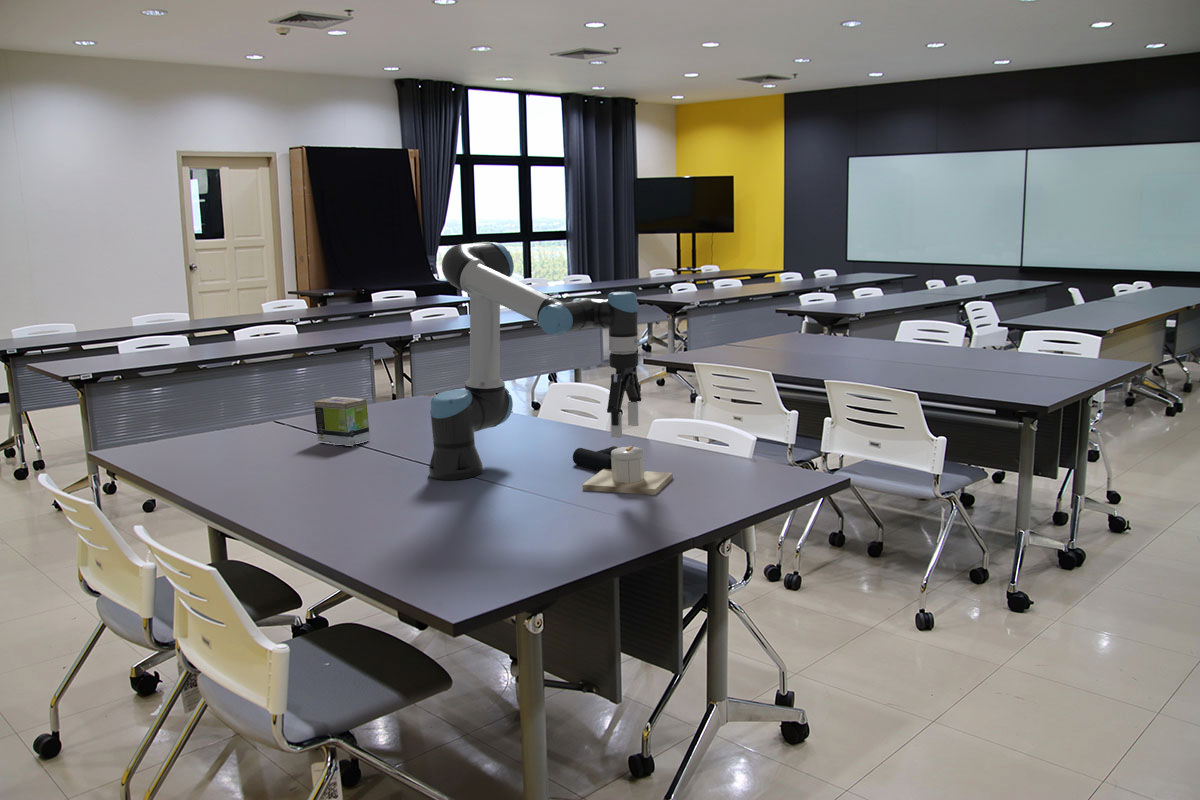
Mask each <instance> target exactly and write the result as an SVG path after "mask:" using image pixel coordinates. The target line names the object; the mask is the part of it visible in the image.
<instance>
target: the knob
mask: <svg viewBox="0 0 1200 800" xmlns="http://www.w3.org/2000/svg"><path fill="white" fill-rule="evenodd" d="M611 464H612V479H613V480H614V481H616V482H619V483H633V482H638V481H641V480H642V479H643V478H644V471H645V467H644V465H645V464H644V450H643V449H642V448H641V447H635V446H633V445H629V446H623V447H618V448H616V449H614V450H612V451H611Z"/></svg>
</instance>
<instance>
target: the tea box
mask: <svg viewBox="0 0 1200 800" xmlns="http://www.w3.org/2000/svg"><path fill="white" fill-rule="evenodd" d="M367 402H368V401H367V399H366V398H359V397H346V396H345V397H344V396H343V397H342V396H332V397H328V398H324V399H319V400H314V401H313V404H314V414H315V426H316V435H317V442H318V441H322V442H329V443H335V444H342V445H352V444H356V443H359V442H362V441H366V440H370V441H371V437H370V436H371V435H370V426H369V423H370V422H369V413H368V403H367Z"/></svg>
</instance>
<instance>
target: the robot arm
mask: <svg viewBox="0 0 1200 800" xmlns="http://www.w3.org/2000/svg"><path fill="white" fill-rule="evenodd" d="M441 262H442V263H441V271H442V274H443V276H444V279H446V281H447V282H448V283H449V284H450V285H451V286H453V287H455V288H457V289H459V291H460V290H461V291H463V292H465V293H467V294H468V295H469V361H470V362H469V378H468V379H467V380H466V381H465V382H464V388H456V389H451V390H445V391H441V392H439V393H437V394H435V395H434V396H433V397H432V398H431V400H430V411H429V414H430V419H431V429H432V430H431V432H432V440H433V441H432V442H433V444H432V445H433V449H432V453H431V454H432V455H431V459H430V462H429V466H428V471H429V472H428V473H429V474H428V475H429V477H430V478H432V479H436V480H441V481H453V480H454V481H455V480H466V479H470V478H474V477H477V476H479V475H481V474H482V473H483V472H484V468H483V463H482V460H481V457H480V455H479V452H478V450H477V448H476V443H475V432H479V431H482V430H486V429H489V428H494V427H497V426H498V425H501V424H503V423H505V422H506V421H507V420H508V419H509V417H511V414H512V412H513V403H514V402H513V397H512V395H511V394H510V391H509V390H508V388H506V384H505V383H506V382H505V381H504V380H503V379H502V378H501V377H500V373H501V372H500V371H501V367H500V365H501V361H500V360H501V359H500V358H501V355H500V354H501V353H500V351H501V349H500V348H501V346H500V345H501V306H503V307H504V308H507V309H509V310H510V311H513V312H515V313H517V314H519V315H522V316H523V317H525V318H527V319H530V320H532V321H534V322H535V323H538V326H539V327H540V328H541V329H542V331H543V332H544V333H545V334H547V335H558V336H559V335H563V334H566V333H570V332H575V331H581V330H586V329H590V328H592V329H593V328H594V329H595V328H596V329H597V328H599V329H608V351H609V352H610V353H609V354H608V355H609V367H610V368H612V369H615V373H611V375H610V389H609V395H608V402H607V408H606V413H608V414H610V433H611V434H610V438H618V439H620V438H623V423H622V422H623V419H622V417H623V415H622V412H621V408H622V405H623V400H624V395H625V392H626V396H627V398H628V401H627V426H628V427H629V426H631V427H639V402H641V401H642V397H641V396H642V394H641V389H640V384H639V383H640V382H639V379H638V374H637V372H638V371H637V367H638V366H639V353H638V351H639V348H638V347H639V345H638V344H640V343H641V342H640V341H641V340H640V339H638V338H639V337H638V335H639V332H638V314H639V313H638V311H639V307H638V298H637V295H636V293H635V292H632V291H613V292H610V293H608V295H607V299H600V298H588V297H581V298H574V299H573V300H571V301H566V302H565V301H561V300H559V299H557V298H555V297H553V296H550V295H548V294H546V293H544V292H542V291H540V290H537V289H536V288H533V287H531V286H529V285H527V284H524V283H522V282H520V281H518V280H516V279H514V278H512V276H513V273H514V267H515V266H514V259H513V257H512V255H511V252H510V251H509V250H508V249H507V247H506V246H505V245H503V244H501V243H500V242H494V241H493V242H490V241H481V242H480V241H479V242H473V243H459V244H457V245H453V246H451V248H449V249H448V250H447V251H446V253H445V254H444V256H443V258H442V261H441Z"/></svg>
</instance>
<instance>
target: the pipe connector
mask: <svg viewBox="0 0 1200 800" xmlns="http://www.w3.org/2000/svg"><path fill="white" fill-rule="evenodd" d="M616 448H619V447H618V446H616V445H613V446H610V447H607V448H603V449H600V450H592V449H588V448H587V449H586V448H583V447H578V448H576V449H575V450H574V452H573V453H572V454H573V455H572V461H573V463H574V464H576V465H577V466H581V467H584V468H589V469H593V470H596V471H598V472H600V471H601V470H603V469H612V464H611V451H612V450H614V449H616Z"/></svg>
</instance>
